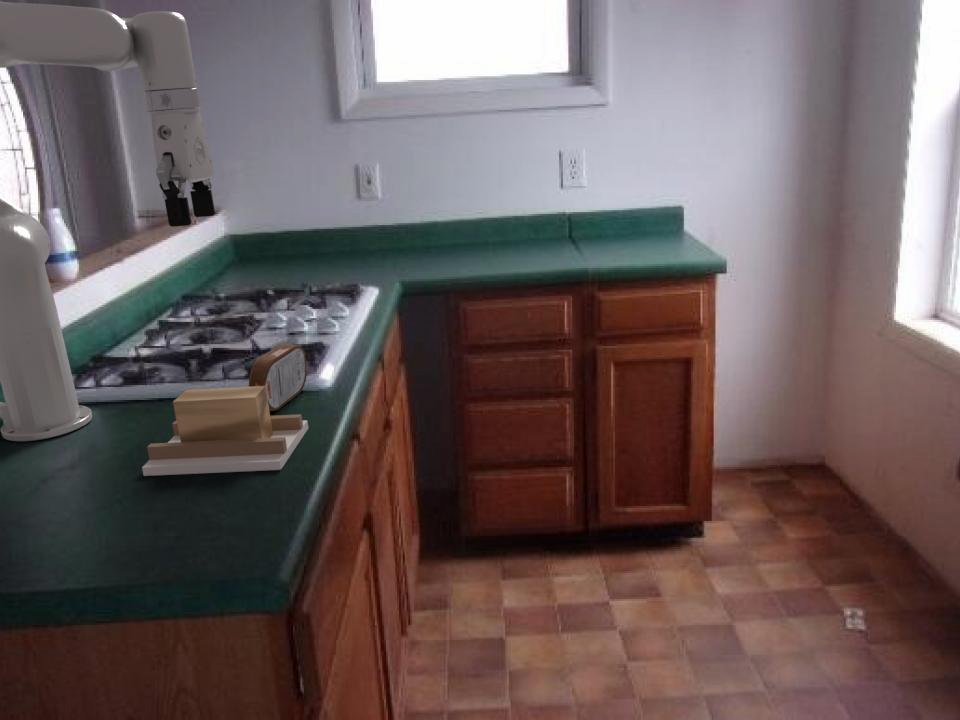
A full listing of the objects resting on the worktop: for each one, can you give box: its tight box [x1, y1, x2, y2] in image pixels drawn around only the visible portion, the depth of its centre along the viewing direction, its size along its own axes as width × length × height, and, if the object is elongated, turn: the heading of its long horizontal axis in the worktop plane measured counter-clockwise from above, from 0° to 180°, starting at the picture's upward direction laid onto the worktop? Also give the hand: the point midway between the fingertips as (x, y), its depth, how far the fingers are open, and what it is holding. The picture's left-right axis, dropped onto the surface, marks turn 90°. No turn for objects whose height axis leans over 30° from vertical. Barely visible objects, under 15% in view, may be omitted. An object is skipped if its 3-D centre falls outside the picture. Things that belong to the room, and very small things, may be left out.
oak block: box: [172, 386, 273, 442], centre depth 115 cm, size 4×11×7 cm, turn 87°
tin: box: [248, 343, 308, 412], centre depth 133 cm, size 15×3×8 cm, turn 166°
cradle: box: [141, 413, 309, 477], centre depth 116 cm, size 18×14×3 cm
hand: (193, 220), depth 131 cm, fingers open, 9 cm apart
